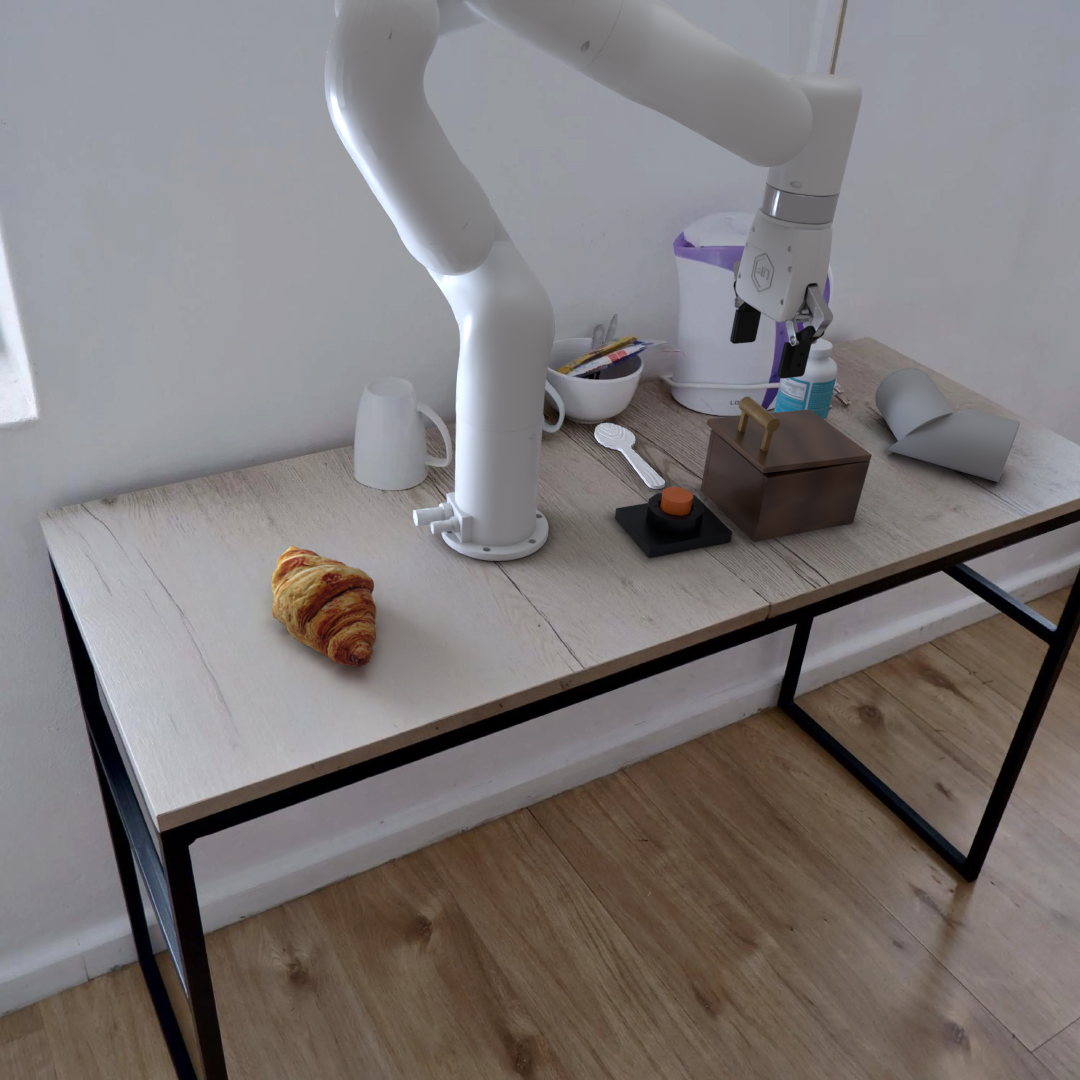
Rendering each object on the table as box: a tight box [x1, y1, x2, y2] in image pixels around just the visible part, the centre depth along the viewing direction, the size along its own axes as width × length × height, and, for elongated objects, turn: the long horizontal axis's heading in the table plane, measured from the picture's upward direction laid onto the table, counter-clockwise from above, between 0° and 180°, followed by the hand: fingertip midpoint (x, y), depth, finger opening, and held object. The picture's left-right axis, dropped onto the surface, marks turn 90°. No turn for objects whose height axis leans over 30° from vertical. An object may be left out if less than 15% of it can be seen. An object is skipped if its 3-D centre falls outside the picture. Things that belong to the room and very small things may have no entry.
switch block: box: [614, 492, 733, 559], centre depth 120 cm, size 11×9×4 cm
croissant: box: [270, 545, 377, 668], centre depth 102 cm, size 21×10×8 cm, turn 32°
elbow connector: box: [874, 366, 1021, 483], centre depth 141 cm, size 18×11×20 cm
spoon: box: [594, 422, 666, 490], centre depth 136 cm, size 5×18×1 cm, turn 21°
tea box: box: [700, 429, 871, 543], centre depth 125 cm, size 15×13×9 cm
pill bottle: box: [773, 337, 839, 421], centre depth 142 cm, size 8×7×14 cm
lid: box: [706, 396, 873, 473], centre depth 121 cm, size 15×13×5 cm
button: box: [660, 486, 694, 516], centre depth 119 cm, size 4×4×2 cm
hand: (765, 358), depth 114 cm, fingers open, 9 cm apart
